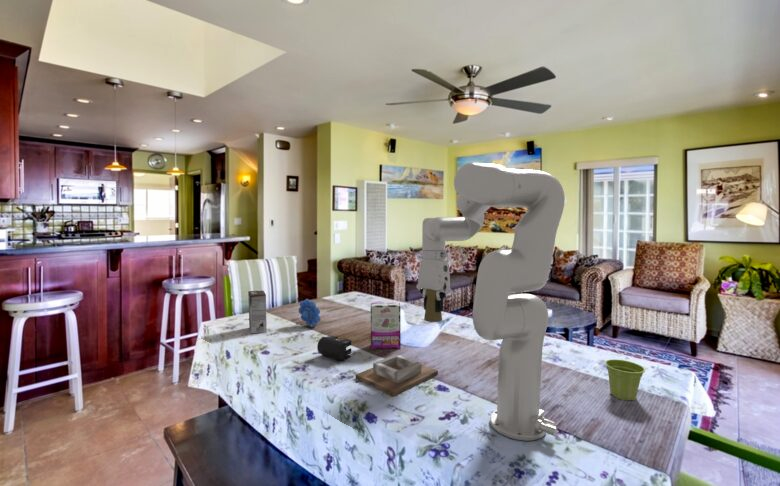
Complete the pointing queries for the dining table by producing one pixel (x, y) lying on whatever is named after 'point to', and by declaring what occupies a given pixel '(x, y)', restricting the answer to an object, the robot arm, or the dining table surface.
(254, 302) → the coffee box
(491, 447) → the dining table surface
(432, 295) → the cork
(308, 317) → the blue scalloped wheel
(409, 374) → the socket board
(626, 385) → the plant pot
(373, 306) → the candy bar box
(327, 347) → the end cap
